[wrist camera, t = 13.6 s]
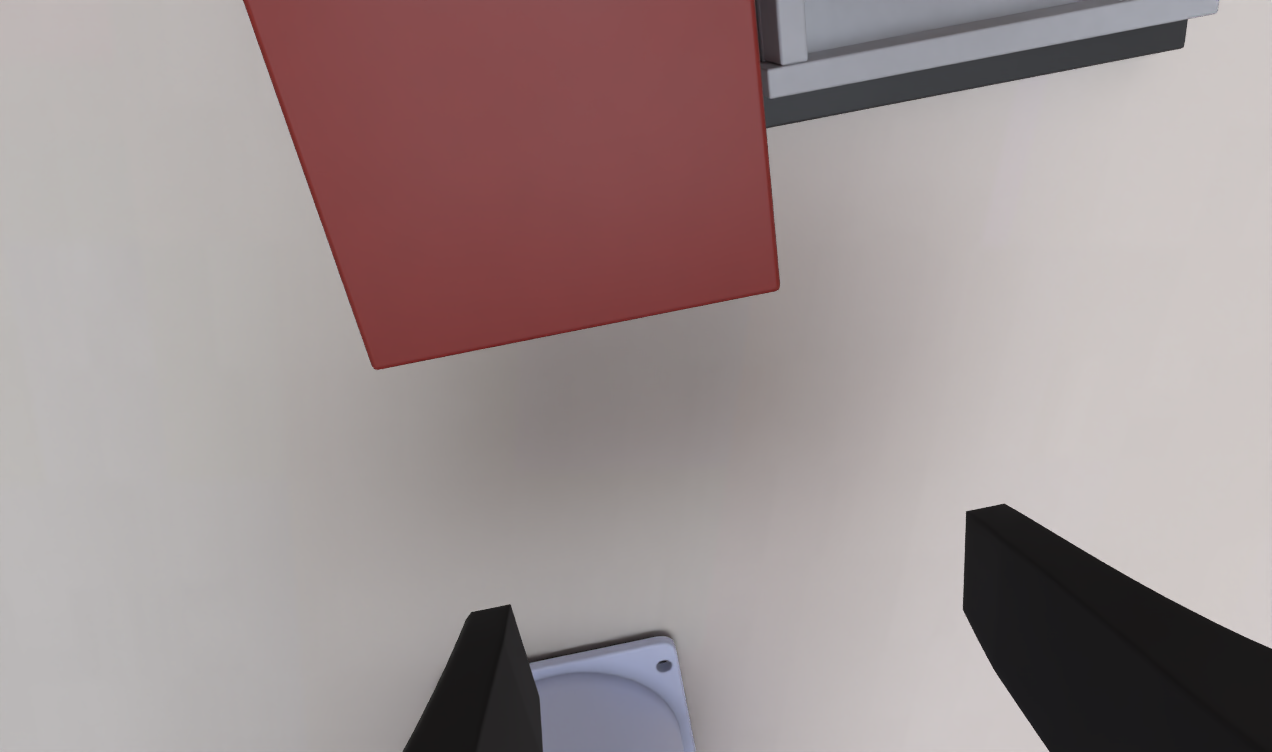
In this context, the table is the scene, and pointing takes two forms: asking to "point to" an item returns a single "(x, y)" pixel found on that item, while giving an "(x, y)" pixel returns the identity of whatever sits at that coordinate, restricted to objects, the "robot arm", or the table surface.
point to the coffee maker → (609, 138)
